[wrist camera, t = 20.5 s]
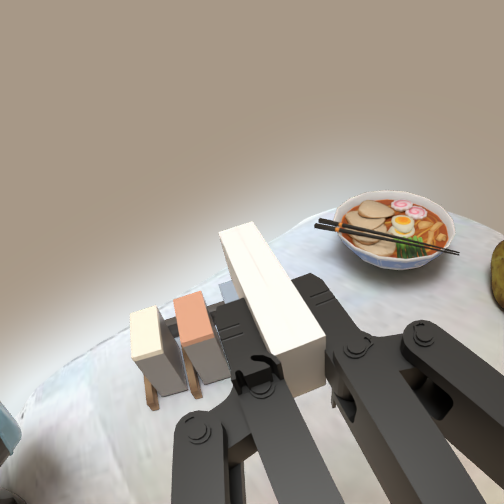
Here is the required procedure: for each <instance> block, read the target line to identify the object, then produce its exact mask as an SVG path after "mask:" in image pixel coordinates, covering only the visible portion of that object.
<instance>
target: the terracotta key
mask: <svg viewBox="0 0 504 504" xmlns="http://www.w3.org/2000/svg"><path fill="white" fill-rule="evenodd" d="M173 302H174V308H175V313H176V319H177V325H178V330H179V336H180V341H181V344H182V346H183V348H184V350H185V352H186V353H187V355H188V357H189V359H190V360H191V362H192V364H193V366H194V367H195V369H196V371H197V373H198V374H199V376H200V378H201V379H202V381H203V383H204V385H205V384H209V383H212V382H215V381H218V380H221V379H224V378H227V377H231V372H230V369H229V366H228V363H227V360H226V357H225V354H224V351H223V348H222V345H221V341H220V338H219V335H218V333H217V330H216V328H215V325H214V323H213V320H212V318H211V315H210V313H209V310H208V308H207V305H206V302H205V300H204V297H203V295H202V292H201V291H198V292H195V293H192V294H189V295H186V296H183V297H180V298H177V299H174V300H173Z"/></svg>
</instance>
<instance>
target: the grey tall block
mask: <svg viewBox="0 0 504 504" xmlns="http://www.w3.org/2000/svg"><path fill="white" fill-rule="evenodd" d="M130 337H131V358H132V359H133V361H134V362H135V363H136V365H137V366H138V367H139V369H140V370H141V371H142V373H143V374H144V375H145V376H146V378H147V379H148V380H149V382H150V383H151V384H152V385H153V387H154V388H155V389H156V390H157V391H158V393H159V394H160V395H161V396H162V397H163V396H167V395H171V394H174V393H178V392H181V391H185V390H188V388H187V383H186V378H185V373H184V369H183V364H182V359H181V353H180V348H179V346H178V345H177V343H176V341H175V339H174V337H173V336H172V334H171V332H170V330H169V328H168V327H167V325H166V323H165V321H164V319H163V317H162V315H161V313H160V312H159V310H158V308H157V306H156V305H155V306H152V307H149V308H146V309H143V310H140V311H137V312H133V313H131V314H130Z"/></svg>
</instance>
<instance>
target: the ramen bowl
mask: <svg viewBox="0 0 504 504" xmlns="http://www.w3.org/2000/svg"><path fill="white" fill-rule="evenodd" d="M319 223H323V224H328V225H333V226H335V227H333V226H328V225H323V224H317V223H315V225H314V227H315V228H317V229H323V230H329V231H335V232H337V233H338V235H339V237H340V238H341V240H342V241H343V242H344V244H345V245H346V246H347V247H348V248H349V249H351V250H352V251H353V252H354V253H355V254H356V255H358V256H359V257H360V258H361V259H362V260H364V261H365V262H368V263H370V264H373V265H375V266H378V267H380V268H385V269H394V270H406V269H412V268H418V267H421V266H423V265H425V264H426V263H428V262H430V261H431V260H433V259H435V258H436V257H438V256H439V255H440V254H442V253H443V252H445V253H450V254H454V255H459V254H456V253H460V252H456V251H453V250H449V249H447V248H448V247H449V245H450V243H451V241H452V239H453V237H454V235H455V233H456V232H455V227H454V222H453V219H452V218H451V216H450V215H449V214H448V213H447V212H446V211H445V209H444V208H443V207H441V206H440V205H438V204H436V203H435V202H433V201H431V200H429V199H427V198H426V197H422V196H419V195H416V194H413V193H409V192H403V191H391V190H382V191H373V192H365V193H363V194H360V195H357V196H354V197H352V198H349V199H348V200H347V201H346V202H344V203H343V204H342V205H340V206H339V207H338V208H337V210H336V213H335V216H334V219H333V221H331V220H327V219H322V218H319ZM445 250H447V251H451V252H455V253H451V252H447V251H445Z"/></svg>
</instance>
